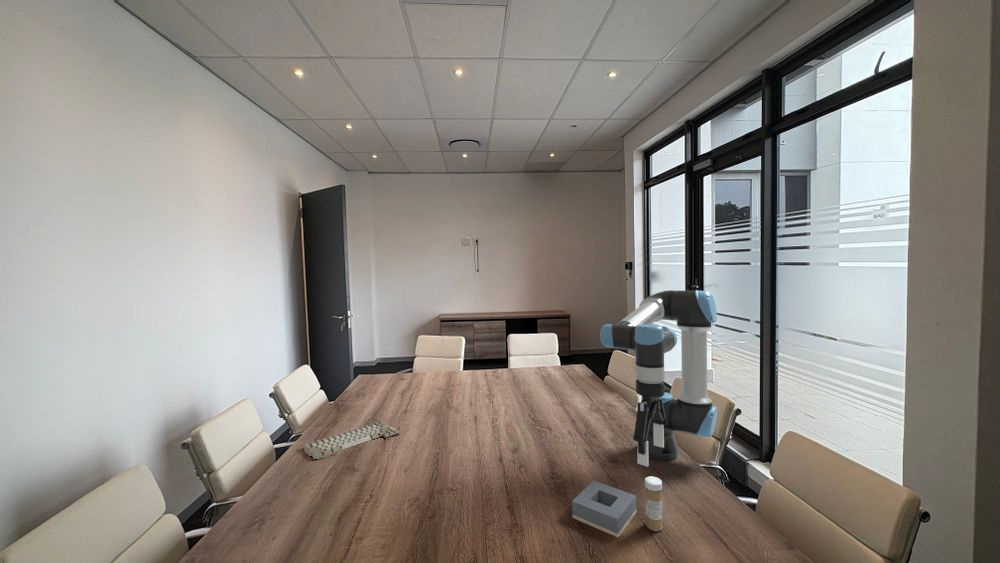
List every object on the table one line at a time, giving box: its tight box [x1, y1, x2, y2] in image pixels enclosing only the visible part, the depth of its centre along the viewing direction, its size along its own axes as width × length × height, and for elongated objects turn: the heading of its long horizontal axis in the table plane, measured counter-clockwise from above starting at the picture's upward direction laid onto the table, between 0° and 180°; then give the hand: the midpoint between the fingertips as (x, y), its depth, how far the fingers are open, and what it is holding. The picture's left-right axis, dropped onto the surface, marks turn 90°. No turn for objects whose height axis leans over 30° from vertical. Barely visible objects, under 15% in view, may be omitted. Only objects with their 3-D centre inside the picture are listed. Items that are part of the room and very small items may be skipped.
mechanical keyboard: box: [303, 420, 400, 460], centre depth 169 cm, size 38×19×3 cm, turn 134°
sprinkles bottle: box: [644, 476, 664, 532], centre depth 107 cm, size 5×5×14 cm
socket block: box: [571, 480, 637, 538], centre depth 113 cm, size 14×14×5 cm
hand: (651, 455), depth 107 cm, fingers open, 13 cm apart
